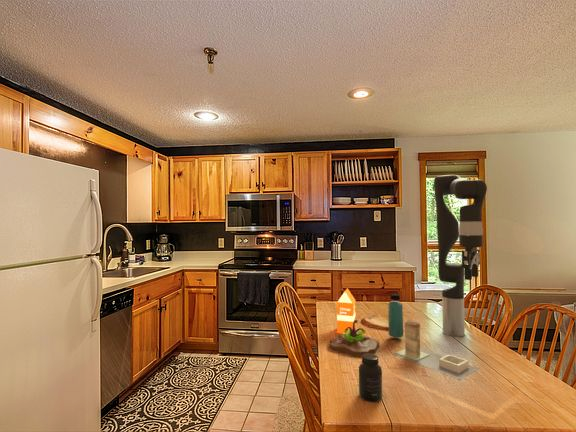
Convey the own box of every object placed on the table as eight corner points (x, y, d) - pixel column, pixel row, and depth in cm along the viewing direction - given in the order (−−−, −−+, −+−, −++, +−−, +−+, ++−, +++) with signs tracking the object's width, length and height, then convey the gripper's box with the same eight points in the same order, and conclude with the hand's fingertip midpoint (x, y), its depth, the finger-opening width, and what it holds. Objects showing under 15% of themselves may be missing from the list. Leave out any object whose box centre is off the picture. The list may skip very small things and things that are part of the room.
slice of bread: (402, 331, 155) (402, 324, 155) (365, 331, 156) (365, 323, 156) (393, 320, 173) (393, 313, 173) (359, 320, 174) (359, 313, 174)
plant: (385, 345, 137) (385, 319, 138) (367, 361, 122) (367, 331, 122) (343, 335, 149) (343, 311, 150) (322, 348, 134) (322, 321, 134)
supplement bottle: (356, 390, 99) (355, 352, 99) (377, 389, 100) (377, 351, 100) (363, 403, 92) (362, 361, 93) (385, 402, 93) (385, 360, 93)
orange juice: (355, 328, 158) (355, 288, 159) (353, 334, 150) (353, 291, 151) (339, 327, 161) (339, 287, 162) (336, 332, 153) (336, 290, 153)
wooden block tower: (410, 350, 127) (410, 320, 128) (420, 353, 124) (419, 322, 125) (405, 353, 125) (404, 322, 125) (415, 356, 122) (414, 325, 122)
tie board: (412, 348, 133) (412, 339, 133) (479, 371, 112) (479, 361, 112) (392, 356, 125) (392, 347, 125) (459, 383, 104) (459, 372, 104)
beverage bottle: (404, 341, 141) (404, 296, 141) (389, 340, 142) (388, 295, 142) (402, 336, 147) (401, 293, 148) (387, 335, 148) (387, 292, 149)
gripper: (465, 233, 125) (465, 274, 124) (453, 234, 115) (454, 279, 114) (487, 233, 120) (488, 277, 119) (477, 234, 109) (478, 282, 109)
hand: (471, 278), depth 117 cm, fingers open, 8 cm apart
